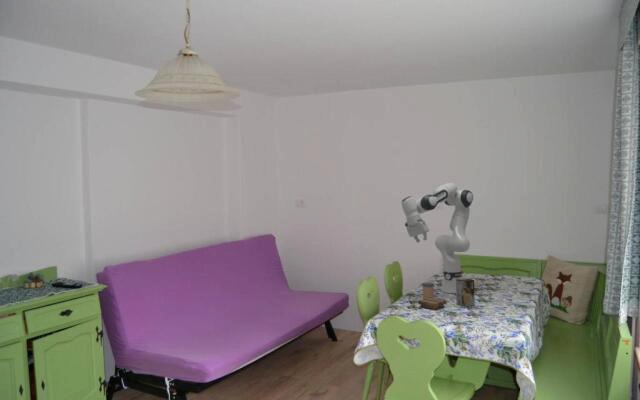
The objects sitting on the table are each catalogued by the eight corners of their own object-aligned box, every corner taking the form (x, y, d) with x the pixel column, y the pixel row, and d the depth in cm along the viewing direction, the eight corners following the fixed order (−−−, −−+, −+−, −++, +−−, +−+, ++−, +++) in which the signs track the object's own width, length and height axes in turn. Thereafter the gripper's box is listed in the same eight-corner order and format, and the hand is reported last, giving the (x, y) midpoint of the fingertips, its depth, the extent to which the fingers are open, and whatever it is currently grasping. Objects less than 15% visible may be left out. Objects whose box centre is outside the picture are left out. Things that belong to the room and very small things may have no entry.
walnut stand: (429, 303, 316) (429, 297, 315) (446, 306, 307) (446, 300, 307) (418, 307, 307) (418, 300, 307) (435, 310, 299) (435, 303, 298)
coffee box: (469, 303, 314) (468, 278, 314) (474, 305, 308) (474, 279, 308) (456, 304, 312) (455, 279, 311) (461, 307, 306) (461, 280, 305)
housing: (427, 300, 324) (427, 282, 324) (434, 301, 320) (433, 283, 320) (423, 302, 320) (422, 283, 320) (429, 303, 317) (429, 284, 317)
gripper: (426, 216, 317) (434, 237, 315) (411, 222, 336) (418, 241, 334) (418, 219, 315) (426, 240, 313) (403, 225, 333) (410, 244, 332)
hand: (422, 241), depth 324 cm, fingers open, 8 cm apart
